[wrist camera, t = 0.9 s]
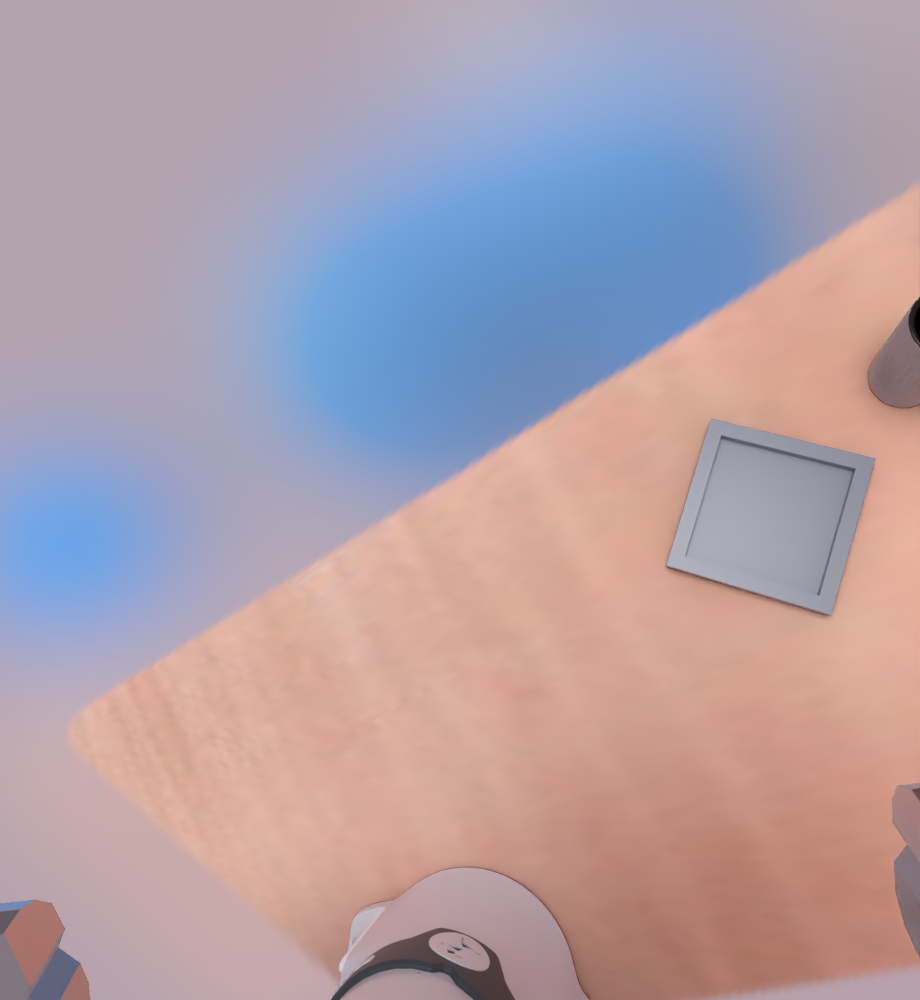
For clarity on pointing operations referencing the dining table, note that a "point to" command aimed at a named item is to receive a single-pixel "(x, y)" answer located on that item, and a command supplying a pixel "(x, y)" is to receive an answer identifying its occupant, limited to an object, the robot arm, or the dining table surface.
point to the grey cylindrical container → (899, 364)
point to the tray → (771, 515)
